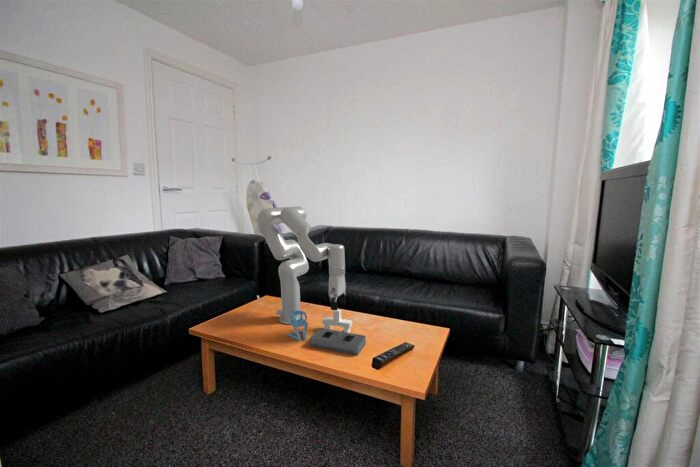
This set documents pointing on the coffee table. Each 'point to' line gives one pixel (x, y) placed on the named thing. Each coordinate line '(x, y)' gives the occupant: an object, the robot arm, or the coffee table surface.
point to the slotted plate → (338, 341)
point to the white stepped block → (337, 321)
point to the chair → (298, 325)
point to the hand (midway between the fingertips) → (338, 306)
